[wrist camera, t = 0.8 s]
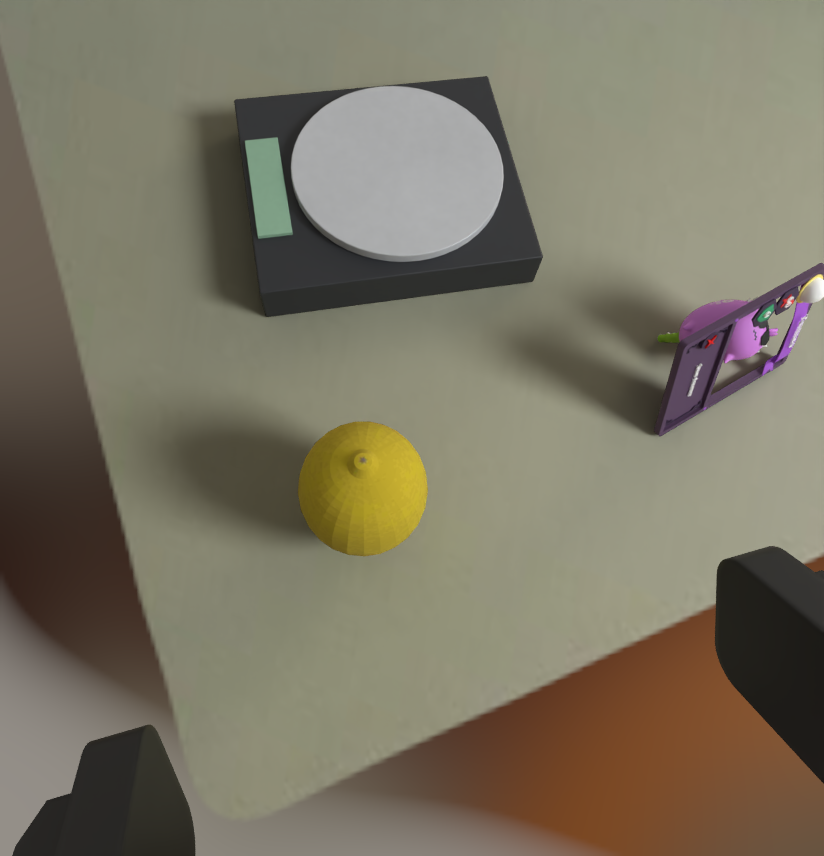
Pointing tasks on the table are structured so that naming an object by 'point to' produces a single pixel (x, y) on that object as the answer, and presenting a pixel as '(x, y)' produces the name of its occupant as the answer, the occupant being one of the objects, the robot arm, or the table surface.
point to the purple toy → (730, 345)
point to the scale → (382, 195)
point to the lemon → (362, 488)
